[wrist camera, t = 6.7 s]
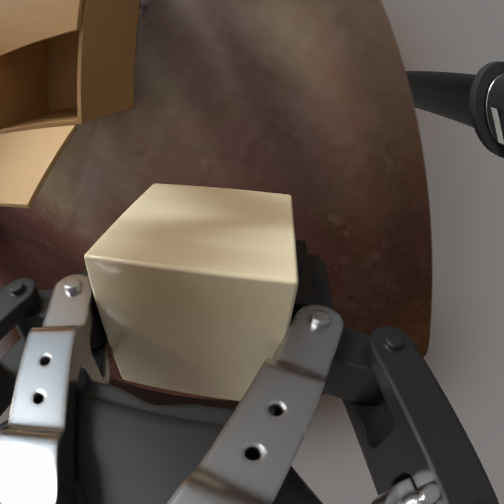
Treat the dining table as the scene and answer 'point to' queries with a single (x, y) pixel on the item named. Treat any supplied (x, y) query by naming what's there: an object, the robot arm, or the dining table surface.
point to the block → (196, 286)
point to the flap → (29, 162)
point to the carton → (65, 61)
